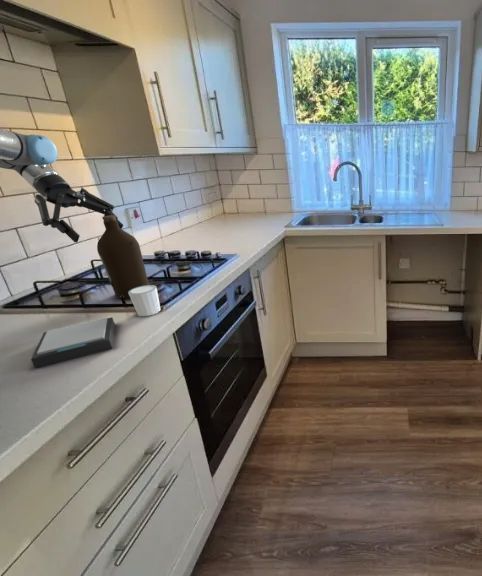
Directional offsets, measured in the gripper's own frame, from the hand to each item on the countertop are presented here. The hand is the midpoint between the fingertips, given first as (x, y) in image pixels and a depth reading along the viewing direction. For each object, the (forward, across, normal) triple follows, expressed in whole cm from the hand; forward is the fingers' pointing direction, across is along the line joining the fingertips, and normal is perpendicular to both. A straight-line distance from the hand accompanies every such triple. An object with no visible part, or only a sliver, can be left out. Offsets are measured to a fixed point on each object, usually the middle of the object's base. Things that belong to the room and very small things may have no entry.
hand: (100, 233), depth 111 cm
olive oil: (+18, 0, +10) cm, 21 cm away
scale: (+29, -28, -2) cm, 40 cm away
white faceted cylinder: (+30, -9, -2) cm, 32 cm away
